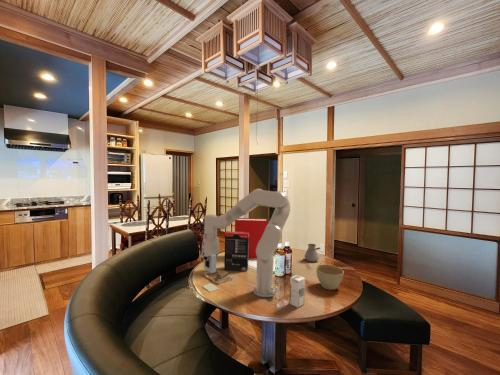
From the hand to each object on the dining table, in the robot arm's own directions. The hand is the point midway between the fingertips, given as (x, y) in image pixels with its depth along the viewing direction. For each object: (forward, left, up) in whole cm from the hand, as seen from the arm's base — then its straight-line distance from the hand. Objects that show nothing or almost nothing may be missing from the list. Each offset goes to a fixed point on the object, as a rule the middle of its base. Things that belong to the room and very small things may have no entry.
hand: (210, 265), depth 138 cm
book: (+25, -56, -14) cm, 63 cm away
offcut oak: (+4, -12, -14) cm, 19 cm away
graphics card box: (+12, -30, -14) cm, 35 cm away
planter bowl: (-46, -57, -14) cm, 75 cm away
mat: (0, 0, -14) cm, 14 cm away
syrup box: (-45, -25, -14) cm, 53 cm away
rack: (+9, -12, -14) cm, 20 cm away
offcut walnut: (+4, -12, -11) cm, 17 cm away
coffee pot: (-17, -86, -14) cm, 89 cm away
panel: (0, 0, -3) cm, 3 cm away
